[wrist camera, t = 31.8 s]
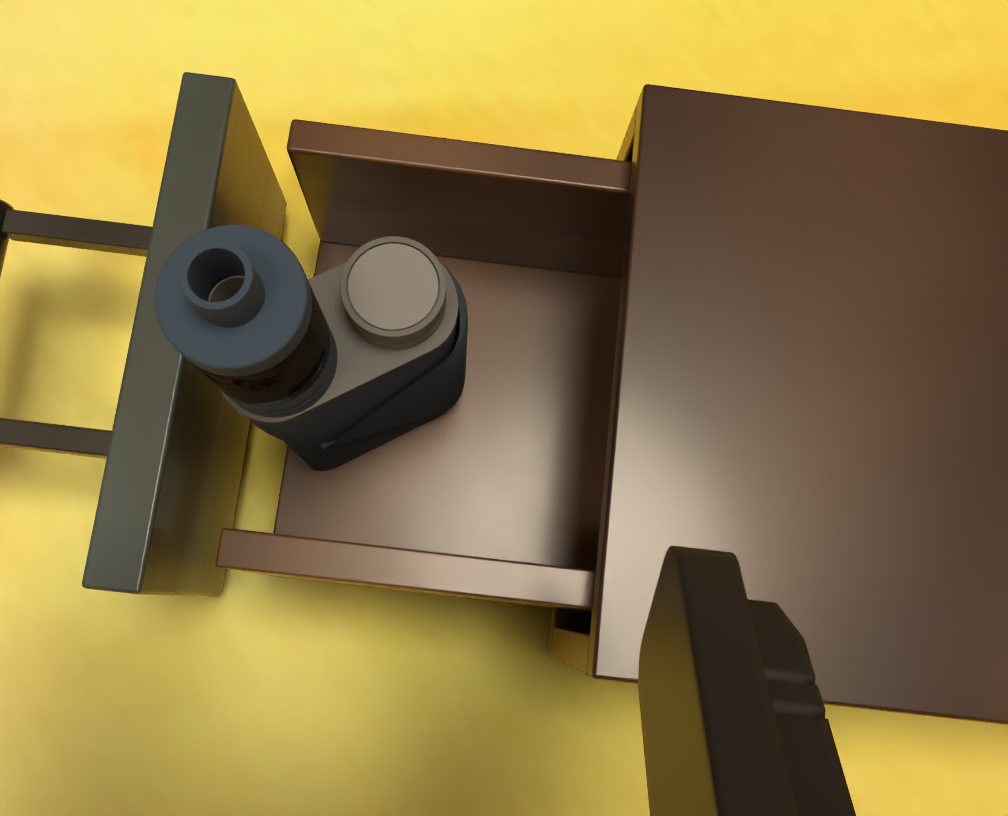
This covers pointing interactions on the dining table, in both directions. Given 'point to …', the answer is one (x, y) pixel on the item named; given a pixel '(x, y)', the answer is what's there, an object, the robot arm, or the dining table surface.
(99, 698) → the dining table surface
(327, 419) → the vaping device
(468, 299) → the drawer
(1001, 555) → the cabinet
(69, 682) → the dining table surface
